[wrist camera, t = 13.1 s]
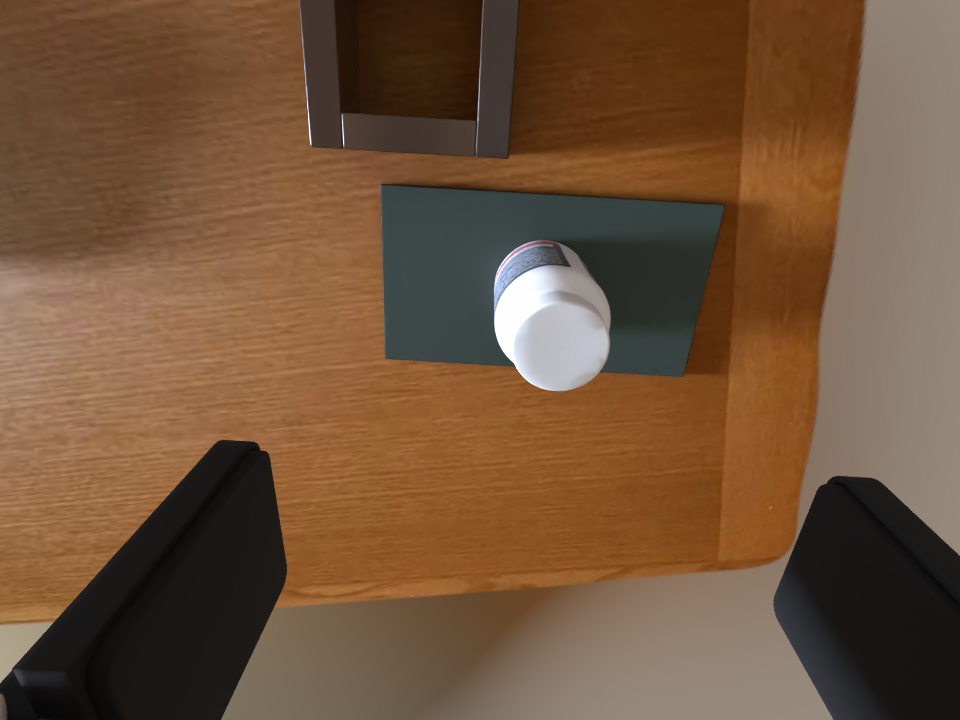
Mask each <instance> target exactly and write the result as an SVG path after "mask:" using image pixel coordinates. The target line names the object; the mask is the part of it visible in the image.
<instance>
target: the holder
mask: <svg viewBox="0 0 960 720" xmlns="http://www.w3.org/2000/svg"><path fill="white" fill-rule="evenodd" d="M519 5H520V0H483V4H482V26H481V48H480V69H479V91H478V112H477V121H476V120H464V119H447V118H430V117H413V116H395V115H378V114H361V113H360V101H359V76H358V51H357V26H356V1H355V0H299V6H300V19H301V32H302V44H303V57H304V70H305V83H306V96H307V108H308V121H309V134H310V145H311V147H317V148H334V149H350V150H367V151H384V152H401V153H418V154H435V155H452V156H469V157H474V156H476V157H486V158H503V159H507V158H508V157H509V145H510V131H511V117H512V103H513V89H514V75H515V61H516V47H517V33H518V19H519Z"/></svg>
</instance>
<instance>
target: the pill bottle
mask: <svg viewBox="0 0 960 720" xmlns="http://www.w3.org/2000/svg"><path fill="white" fill-rule="evenodd" d="M494 322H495V332H496V336H497V339H498V342H499V344H500V346H501V348H502V350H503V352H504V353H505V354H506V356H507V357H508V358H509V359H510V360H511V361H512V362H513V363H515V366H516V368H517V370H518V371H519V372H520V374H521V375H522V376H523V377H524V378H525V379H526V380H527V381H529V382H530V383H531V384H533V385H535V386H537V387H540V388H542V389H546V390H551V391H566V390H571V389H574V388H577V387H580V386H582V385H584V384H586V383H587V382H589V381H590V380H592V379H593V378H594V377H595V376H596V375H597V374H598V373H599V372H600V370H601V369H602V368H603V366H604V364H605V362H606V360H607V357H608V354H609V348H610V338H609V329H610V322H611V316H610V308H609V304H608V301H607V299H606V296H605V294H604V292H603V290H602V289H601V288H600V286H599V285H598V283H597V282H596V280H595V279H594V277H593V276H592V274H591V273H590V271H589V270H588V268H587V267H586V265H585V264H584V262H583V261H582V260H581V258H580V257H579V256H578V255H577V254H576V253H575V252H574V251H572V250H571V249H570V248H568V247H566V246H565V245H562V244H560V243H557V242H553V241H546V240H540V241H533V242H529V243H526V244H524V245H522V246H520V247H518V248H516V249H515V250H514V251H512V252H511V253H510V254H509V255H508V256H507V257H506V258H505V259H504V261H503V262H502V264H501V265H500V267H499V269H498V272H497V275H496V278H495V285H494Z"/></svg>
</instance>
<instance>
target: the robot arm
mask: <svg viewBox="0 0 960 720" xmlns="http://www.w3.org/2000/svg"><path fill="white" fill-rule="evenodd" d="M286 574H287V564H286V558H285V551H284V545H283V539H282V532H281V526H280V519H279V513H278V507H277V500H276V494H275V488H274V481H273V475H272V469H271V462H270V457H269V454H268V453H267V452H266V451H260V447H259V446H258V444H257V443H255V442H249V441H232V440H220V441H218V442H217V443H216V444H214V445H213V447H212V448H211V449H210V450H209V451H208V452H207V453H206V454H205V455H204V457H203V458H202V459H201V460H200V461H199V462H198V463H197V464H196V465H195V467H194V468H193V469H192V470H191V471H190V472H189V473H188V474H187V475H186V476H185V478H184V479H183V480H182V481H181V482H180V483H179V484H178V485H177V486H176V488H175V489H174V490H173V491H172V492H171V493H170V494H169V495H168V496H167V498H166V499H165V500H164V501H163V502H162V503H161V504H160V505H159V506H158V508H157V509H156V510H155V511H154V512H153V513H152V514H151V515H150V516H149V518H148V519H147V520H146V521H145V522H144V523H143V524H142V525H141V526H140V528H139V529H138V530H137V531H136V532H135V533H134V534H133V535H132V536H131V538H130V539H129V540H128V541H127V542H126V543H125V544H124V545H123V546H122V547H121V549H120V550H119V551H118V552H117V553H116V554H115V555H114V556H113V557H112V559H111V560H110V561H109V562H108V563H107V564H106V565H105V566H104V567H103V569H102V570H101V571H100V572H99V573H98V574H97V575H96V576H95V577H94V579H93V580H92V581H91V582H90V583H89V584H88V585H87V586H86V587H85V589H84V590H83V591H82V592H81V593H80V594H79V595H78V596H77V597H76V599H75V600H74V601H73V602H72V603H71V604H70V605H69V606H68V607H67V608H66V610H65V611H64V612H63V613H62V614H61V615H60V616H59V617H58V618H57V620H56V621H55V622H54V623H53V624H52V625H51V626H50V628H48V630H47V631H46V632H45V633H44V634H43V635H42V636H41V638H40V639H39V640H38V641H37V642H36V643H35V644H34V645H33V646H32V647H31V648H30V650H29V651H28V652H27V653H26V654H25V655H24V656H23V657H22V658H21V660H20V661H19V662H18V663H17V664H16V665H15V666H14V667H13V668H12V671H11V672H10V673H9V675H7V677H6V678H5V679H4V680H3V681H2V682H1V683H0V720H221V718H222V716H223V714H224V712H225V710H226V707H227V705H228V703H229V701H230V699H231V697H232V695H233V693H234V691H235V689H236V687H237V684H238V682H239V680H240V678H241V676H242V674H243V672H244V670H245V667H246V665H247V663H248V661H249V659H250V657H251V655H252V653H253V651H254V648H255V646H256V644H257V642H258V640H259V638H260V636H261V634H262V631H263V629H264V627H265V625H266V623H267V621H268V619H269V617H270V615H271V612H272V610H273V608H274V606H275V604H276V602H277V600H278V598H279V595H280V593H281V591H282V589H283V586H284V583H285V580H286ZM774 611H775V614H776V617H777V619H778V621H779V623H780V625H781V627H782V629H783V630H784V632H785V634H786V636H787V638H788V639H789V641H790V643H791V645H792V647H793V648H794V650H795V652H796V654H797V655H798V657H799V659H800V661H801V663H802V664H803V666H804V668H805V670H806V671H807V673H808V675H809V677H810V678H811V680H812V682H813V684H814V685H815V687H816V689H817V691H818V693H819V695H820V696H821V698H822V700H823V702H824V703H825V705H826V707H827V709H828V711H829V712H830V714H831V716H832V718H833V719H834V720H960V556H959V555H958V554H957V553H956V552H955V551H954V550H953V549H952V548H950V546H949V545H948V544H946V543H945V542H944V541H943V540H942V539H941V538H940V537H939V536H938V535H937V534H936V533H935V532H934V531H932V530H931V529H930V528H929V527H928V526H927V525H926V524H925V523H924V522H923V521H922V520H921V519H919V517H918V516H916V515H915V514H914V513H913V512H912V511H911V510H910V509H909V508H908V507H907V506H906V505H904V503H903V502H902V501H900V500H899V499H898V498H897V497H896V496H895V495H894V494H893V493H892V492H891V491H890V490H888V488H887V487H885V486H884V485H883V484H882V483H881V482H879V481H878V480H876V479H873V478H862V477H847V476H836V477H832V478H831V479H830V480H829V481H828V482H827V484H824V485H822V486H820V487H819V488H818V490H817V492H816V495H815V497H814V500H813V502H812V504H811V507H810V509H809V512H808V514H807V517H806V519H805V522H804V524H803V527H802V529H801V532H800V534H799V537H798V539H797V541H796V544H795V546H794V549H793V551H792V554H791V556H790V559H789V562H788V564H787V566H786V569H785V571H784V574H783V576H782V579H781V581H780V583H779V586H778V589H777V591H776V593H775V596H774Z"/></svg>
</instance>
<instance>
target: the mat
mask: <svg viewBox="0 0 960 720" xmlns="http://www.w3.org/2000/svg"><path fill="white" fill-rule="evenodd" d="M724 208H725V205H723V204H710V203H694V202H677V201H660V200H643V199H626V198H609V197H592V196H576V195H559V194H542V193H525V192H508V191H491V190H474V189H458V188H441V187H424V186H407V185H390V184H382V185H381V218H382V256H383V294H384V333H385V359H398V360H414V361H431V362H447V363H463V364H480V365H496V366H512V367H516V366H515V363H513V362H512V361H511V360H510V359H509V358H508V357H507V356H506V354H505V353H504V352H503V350H502V348H501V346H500V344H499V342H498V339H497V336H496V332H495V322H494V285H495V278H496V275H497V272H498V269H499V267H500V265H501V264H502V262H503V261H504V259H505V258H506V257H507V256H508V255H509V254H510V253H511V252H512V251H514V250H515V249H516V248H518V247H520V246H522V245H524V244H526V243H529V242H533V241H540V240H546V241H553V242H557V243H560V244H562V245H565V246H566V247H568V248H570V249H571V250H572V251H574V252H575V253H576V254H577V255H578V256H579V257H580V258H581V260H582V261H583V262H584V264H585V265H586V267H587V268H588V270H589V271H590V273H591V274H592V276H593V277H594V279H595V280H596V282H597V283H598V285H599V286H600V288H601V289H602V290H603V292H604V294H605V296H606V299H607V301H608V304H609V308H610V316H611V322H610V329H609V338H610V348H609V354H608V357H607V360H606V362H605V364H604V366H603V368H602V369H601V370H600V372H610V373H627V374H643V375H659V376H676V377H683V376H684V371H685V367H686V363H687V359H688V355H689V351H690V347H691V343H692V339H693V335H694V330H695V326H696V322H697V318H698V314H699V310H700V306H701V302H702V298H703V294H704V290H705V285H706V281H707V277H708V273H709V269H710V265H711V261H712V257H713V253H714V249H715V244H716V240H717V236H718V232H719V228H720V224H721V220H722V216H723V212H724Z"/></svg>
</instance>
